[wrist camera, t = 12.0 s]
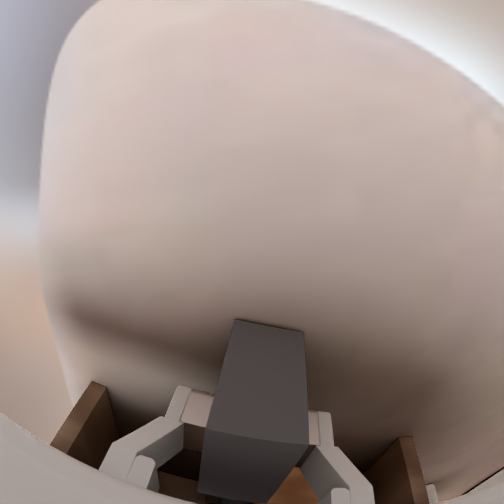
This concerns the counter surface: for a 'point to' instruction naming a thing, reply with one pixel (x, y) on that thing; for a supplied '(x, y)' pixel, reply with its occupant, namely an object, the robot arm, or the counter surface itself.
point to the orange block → (294, 490)
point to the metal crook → (255, 416)
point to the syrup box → (432, 493)
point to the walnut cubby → (105, 433)
